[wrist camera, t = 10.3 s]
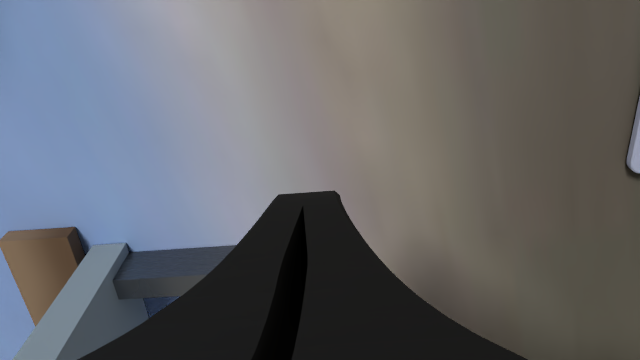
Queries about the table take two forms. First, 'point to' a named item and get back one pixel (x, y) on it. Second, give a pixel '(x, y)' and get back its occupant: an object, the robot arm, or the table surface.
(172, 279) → the keeper cleats
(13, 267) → the threshold strip
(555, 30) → the table surface
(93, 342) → the door panel
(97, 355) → the robot arm
